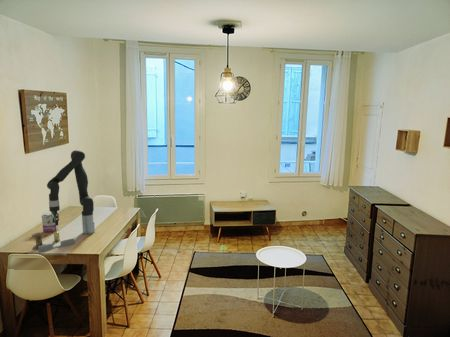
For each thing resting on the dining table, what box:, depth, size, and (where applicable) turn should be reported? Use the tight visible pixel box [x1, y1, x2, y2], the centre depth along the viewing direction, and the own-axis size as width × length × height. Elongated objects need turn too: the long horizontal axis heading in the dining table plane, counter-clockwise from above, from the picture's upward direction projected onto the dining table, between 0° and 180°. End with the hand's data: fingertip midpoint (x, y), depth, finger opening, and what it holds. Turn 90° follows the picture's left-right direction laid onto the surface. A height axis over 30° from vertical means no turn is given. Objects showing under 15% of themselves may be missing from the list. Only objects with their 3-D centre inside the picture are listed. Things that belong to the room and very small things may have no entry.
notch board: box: [37, 237, 75, 253], centre depth 260 cm, size 26×2×4 cm, turn 130°
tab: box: [53, 230, 61, 243], centre depth 271 cm, size 4×4×8 cm
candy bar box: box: [41, 213, 59, 233], centre depth 292 cm, size 11×5×16 cm, turn 99°
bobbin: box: [31, 231, 46, 251], centre depth 259 cm, size 9×9×11 cm
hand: (55, 223), depth 269 cm, fingers open, 8 cm apart
